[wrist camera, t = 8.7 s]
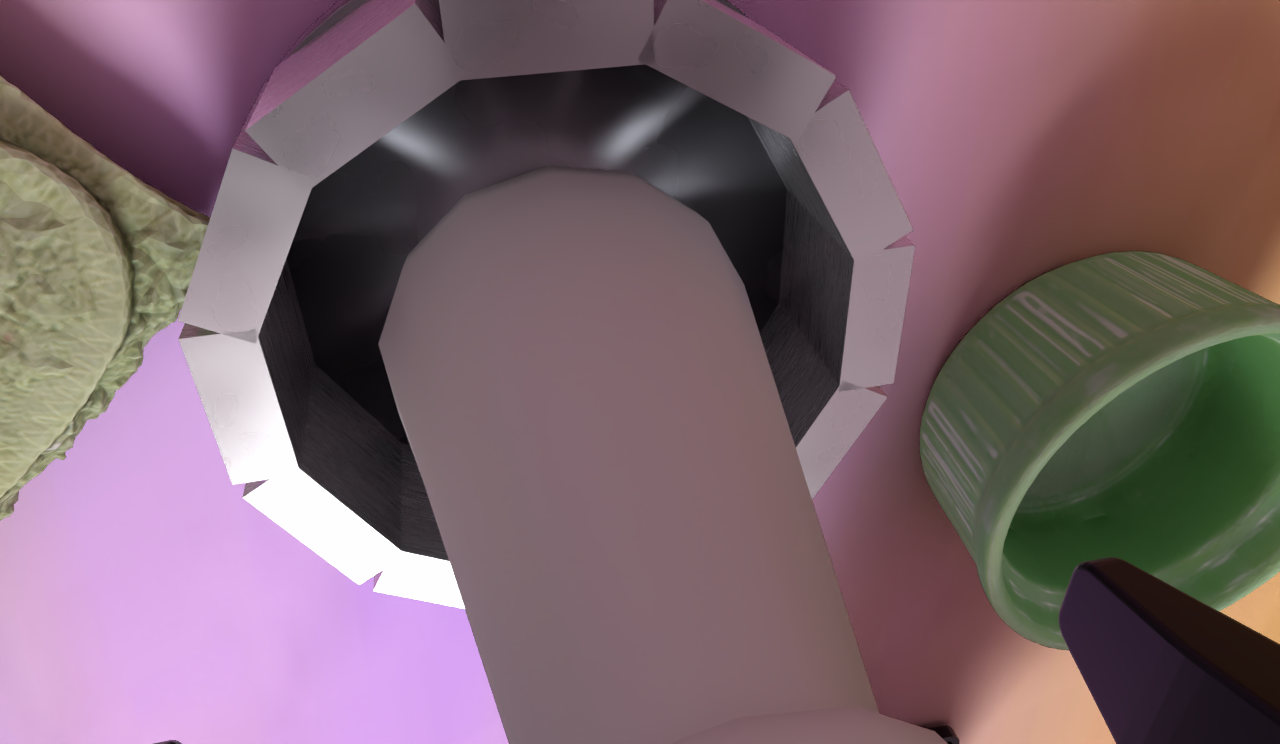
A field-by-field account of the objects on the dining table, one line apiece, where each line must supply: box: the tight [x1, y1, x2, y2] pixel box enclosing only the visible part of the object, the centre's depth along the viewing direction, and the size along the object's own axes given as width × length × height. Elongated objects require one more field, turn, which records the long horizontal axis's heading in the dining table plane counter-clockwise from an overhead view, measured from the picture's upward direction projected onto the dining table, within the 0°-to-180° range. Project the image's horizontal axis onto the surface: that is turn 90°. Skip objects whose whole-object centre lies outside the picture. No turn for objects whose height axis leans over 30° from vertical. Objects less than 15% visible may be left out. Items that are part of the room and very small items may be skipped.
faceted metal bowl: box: [178, 0, 915, 609], centre depth 15 cm, size 11×11×4 cm
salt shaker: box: [378, 165, 948, 744], centre depth 11 cm, size 6×6×13 cm
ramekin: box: [920, 251, 1280, 650], centre depth 20 cm, size 9×9×4 cm
